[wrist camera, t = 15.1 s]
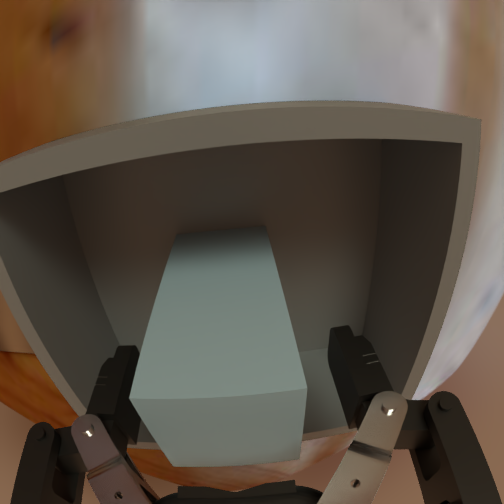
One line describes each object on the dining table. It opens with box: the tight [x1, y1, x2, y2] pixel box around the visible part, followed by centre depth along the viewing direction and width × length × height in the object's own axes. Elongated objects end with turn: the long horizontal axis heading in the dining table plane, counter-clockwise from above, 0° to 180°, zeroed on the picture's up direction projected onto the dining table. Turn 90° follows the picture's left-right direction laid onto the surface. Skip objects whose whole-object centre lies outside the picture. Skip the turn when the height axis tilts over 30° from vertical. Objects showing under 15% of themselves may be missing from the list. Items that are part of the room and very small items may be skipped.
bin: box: [0, 101, 481, 450], centre depth 16 cm, size 20×18×8 cm
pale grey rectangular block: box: [129, 226, 307, 467], centre depth 14 cm, size 5×5×11 cm
